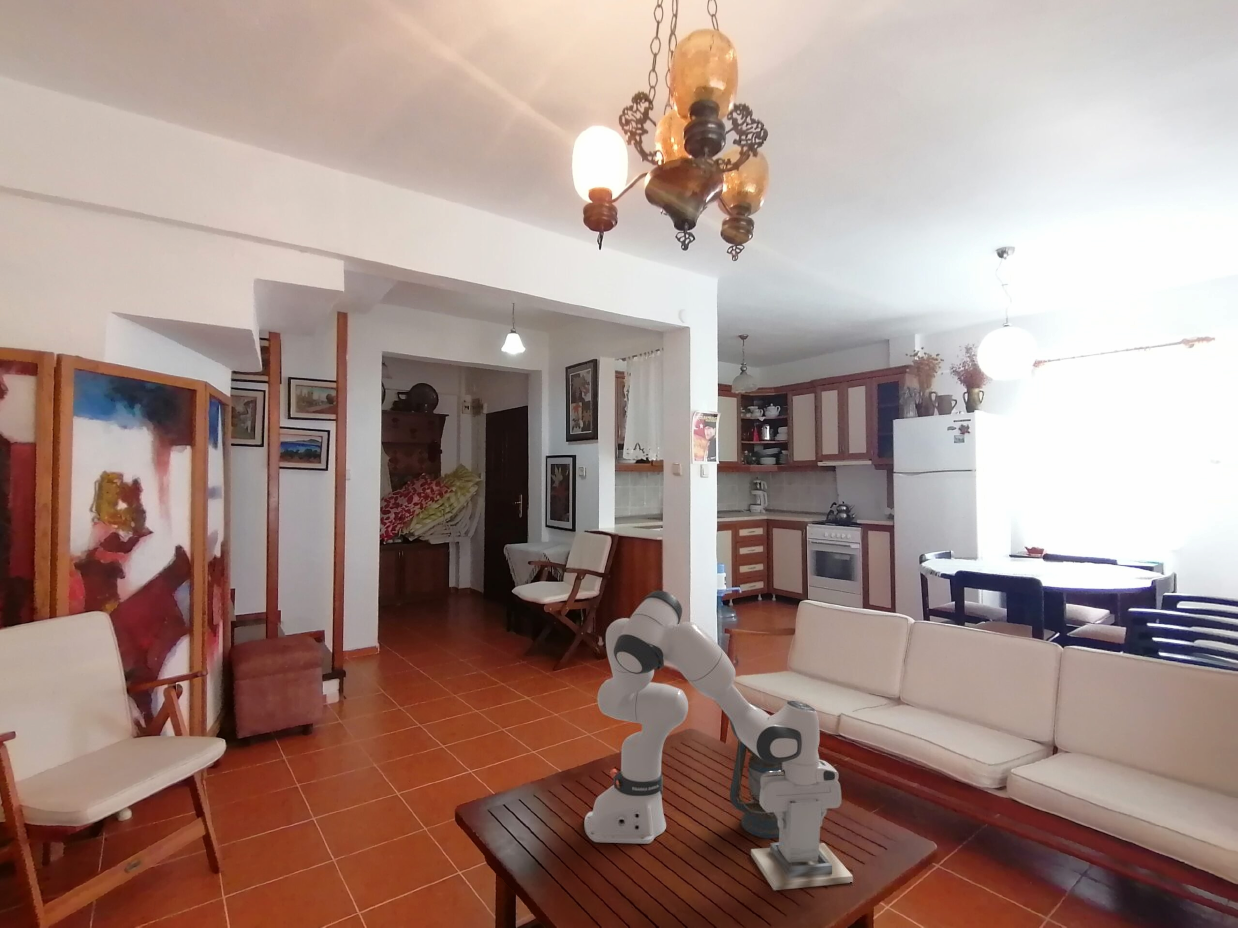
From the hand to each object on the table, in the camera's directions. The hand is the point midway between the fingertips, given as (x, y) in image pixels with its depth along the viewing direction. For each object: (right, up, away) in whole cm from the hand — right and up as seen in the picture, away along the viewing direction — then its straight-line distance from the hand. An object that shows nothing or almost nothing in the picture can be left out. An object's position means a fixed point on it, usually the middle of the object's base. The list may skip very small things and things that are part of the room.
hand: (799, 826), depth 155 cm
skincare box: (-1, -7, 0) cm, 8 cm away
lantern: (-4, -11, +18) cm, 22 cm away
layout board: (0, -10, 0) cm, 10 cm away
